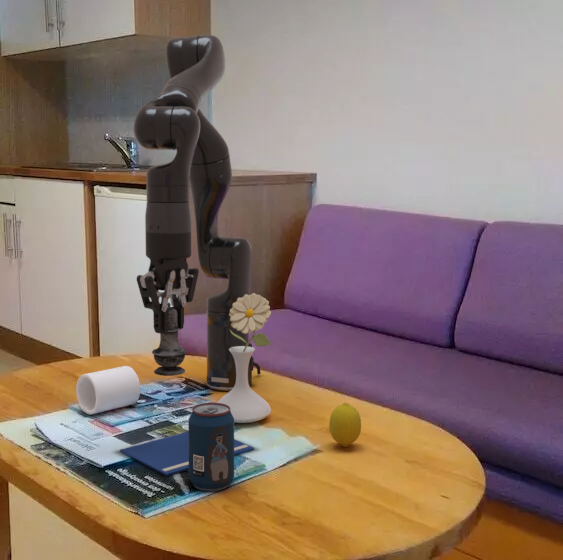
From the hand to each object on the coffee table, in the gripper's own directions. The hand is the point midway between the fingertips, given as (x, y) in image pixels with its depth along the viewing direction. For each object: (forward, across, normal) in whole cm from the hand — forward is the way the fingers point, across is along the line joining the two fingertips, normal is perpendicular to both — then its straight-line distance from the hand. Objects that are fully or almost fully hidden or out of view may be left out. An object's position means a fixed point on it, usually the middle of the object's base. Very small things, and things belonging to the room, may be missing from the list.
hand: (169, 330), depth 130 cm
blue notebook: (+21, +1, -3) cm, 21 cm away
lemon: (+21, +17, -25) cm, 37 cm away
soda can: (+21, -8, -15) cm, 27 cm away
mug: (+21, +11, +26) cm, 35 cm away
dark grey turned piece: (+7, 0, 0) cm, 7 cm away
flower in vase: (+21, +20, -2) cm, 29 cm away
